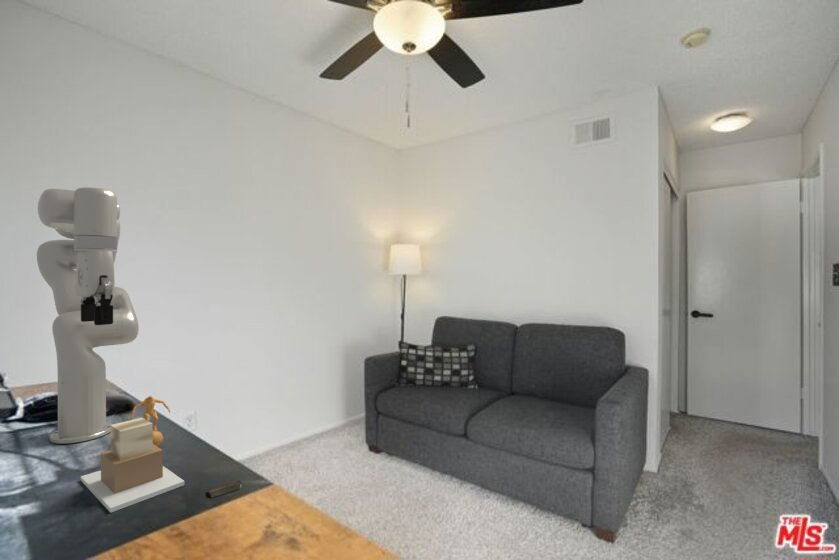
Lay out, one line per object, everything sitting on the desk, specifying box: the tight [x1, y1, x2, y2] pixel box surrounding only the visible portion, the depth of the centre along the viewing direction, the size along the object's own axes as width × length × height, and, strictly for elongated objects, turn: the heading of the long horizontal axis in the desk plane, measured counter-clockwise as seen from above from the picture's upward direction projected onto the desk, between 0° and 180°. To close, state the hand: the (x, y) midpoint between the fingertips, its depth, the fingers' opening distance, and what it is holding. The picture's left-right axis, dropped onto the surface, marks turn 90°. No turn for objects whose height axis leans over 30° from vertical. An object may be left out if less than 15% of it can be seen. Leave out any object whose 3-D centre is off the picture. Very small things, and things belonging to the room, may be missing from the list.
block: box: [205, 479, 243, 499], centre depth 79 cm, size 4×6×2 cm, turn 136°
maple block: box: [110, 417, 154, 460], centre depth 82 cm, size 5×5×5 cm
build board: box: [80, 444, 185, 514], centre depth 82 cm, size 18×12×6 cm, turn 52°
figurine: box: [129, 395, 171, 447], centre depth 99 cm, size 8×6×12 cm
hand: (96, 322), depth 92 cm, fingers open, 9 cm apart
